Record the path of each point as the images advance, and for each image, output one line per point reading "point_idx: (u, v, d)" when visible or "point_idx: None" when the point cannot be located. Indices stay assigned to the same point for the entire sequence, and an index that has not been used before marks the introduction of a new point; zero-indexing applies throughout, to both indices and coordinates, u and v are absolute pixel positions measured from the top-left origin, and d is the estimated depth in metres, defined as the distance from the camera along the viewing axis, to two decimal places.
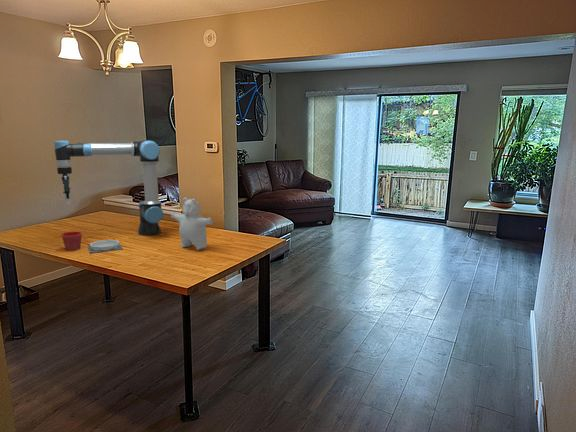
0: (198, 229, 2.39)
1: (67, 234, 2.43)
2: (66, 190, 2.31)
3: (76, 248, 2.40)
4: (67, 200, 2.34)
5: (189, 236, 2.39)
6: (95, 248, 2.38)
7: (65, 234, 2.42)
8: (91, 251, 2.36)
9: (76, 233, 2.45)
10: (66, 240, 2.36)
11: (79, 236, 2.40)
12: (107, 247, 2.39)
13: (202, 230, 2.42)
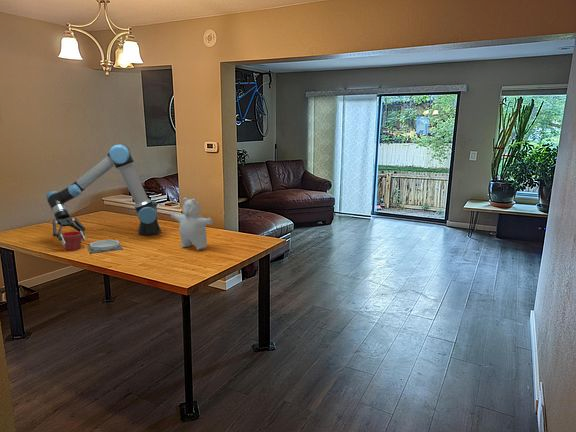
0: (198, 229, 2.39)
1: (67, 234, 2.43)
2: (53, 234, 2.35)
3: (76, 248, 2.40)
4: (62, 241, 2.36)
5: (189, 236, 2.39)
6: (95, 248, 2.38)
7: (65, 234, 2.41)
8: (91, 251, 2.36)
9: (76, 233, 2.45)
10: (66, 240, 2.36)
11: (79, 236, 2.40)
12: (107, 247, 2.39)
13: (202, 230, 2.42)
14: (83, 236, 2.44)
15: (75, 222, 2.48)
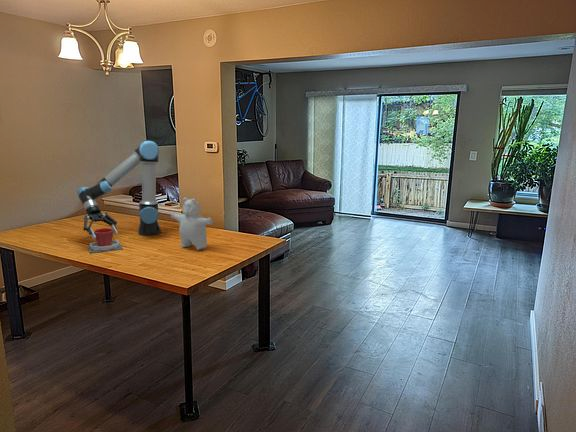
0: (198, 229, 2.39)
1: (99, 231, 2.46)
2: None
3: (108, 245, 2.43)
4: (92, 235, 2.38)
5: (189, 236, 2.39)
6: (95, 248, 2.38)
7: (97, 231, 2.45)
8: (91, 251, 2.36)
9: (107, 230, 2.48)
10: (99, 237, 2.39)
11: (111, 233, 2.43)
12: (107, 247, 2.39)
13: (202, 230, 2.42)
14: (115, 230, 2.48)
15: (106, 217, 2.51)
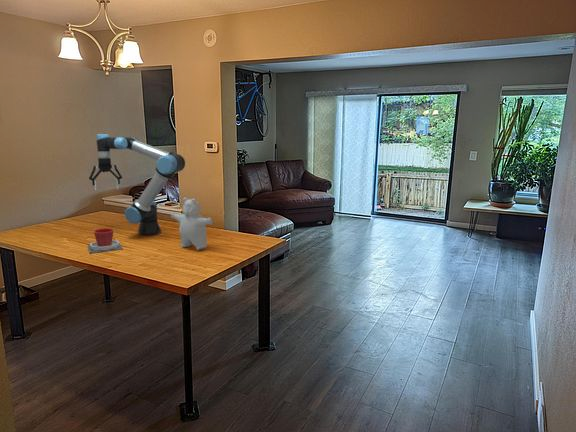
0: (198, 229, 2.39)
1: (99, 231, 2.46)
2: (89, 177, 2.61)
3: (108, 245, 2.43)
4: None
5: (189, 236, 2.39)
6: (95, 248, 2.38)
7: (97, 231, 2.45)
8: (91, 251, 2.36)
9: (107, 230, 2.48)
10: (99, 237, 2.39)
11: (111, 233, 2.43)
12: (107, 247, 2.39)
13: (202, 230, 2.42)
14: (117, 186, 2.70)
15: None
